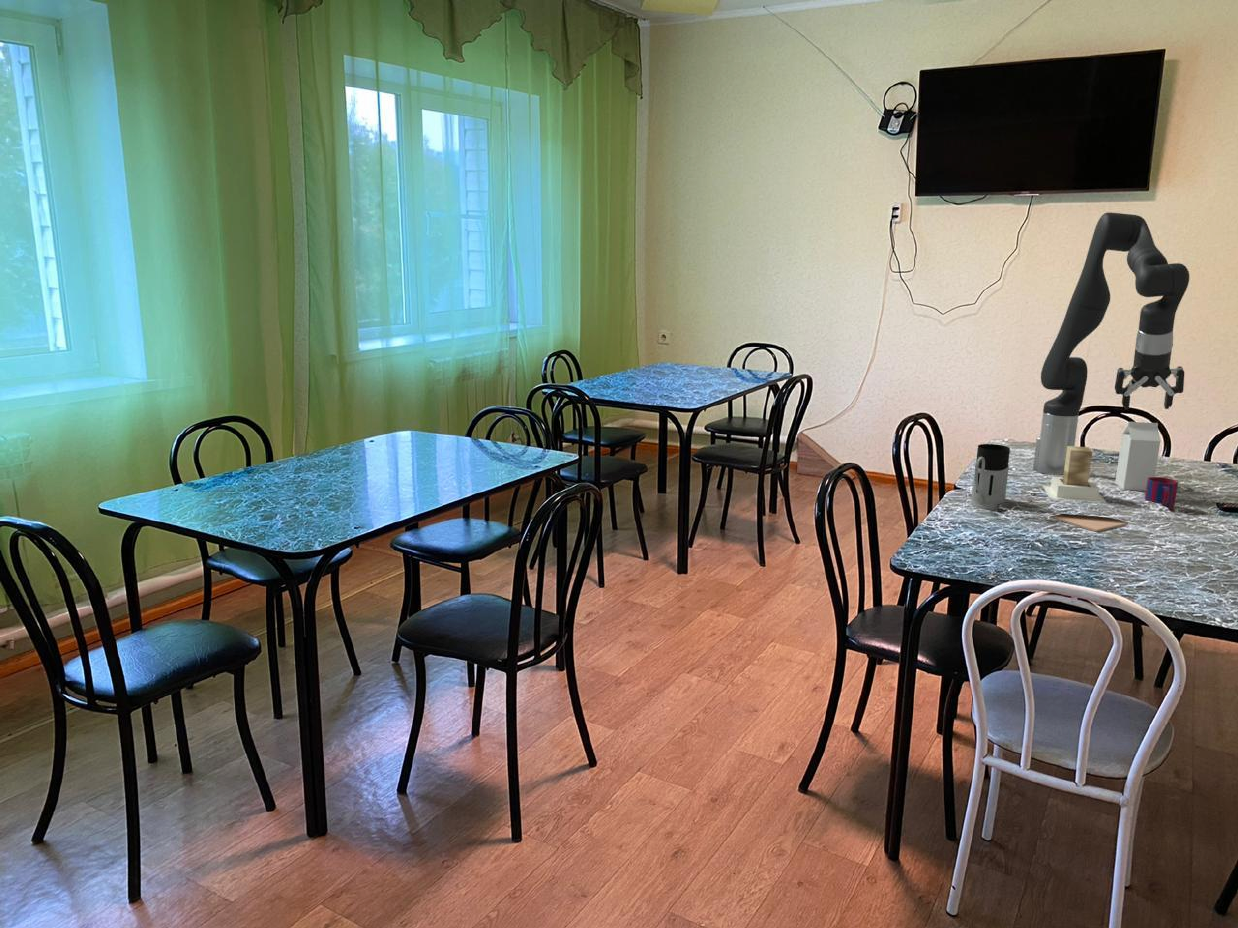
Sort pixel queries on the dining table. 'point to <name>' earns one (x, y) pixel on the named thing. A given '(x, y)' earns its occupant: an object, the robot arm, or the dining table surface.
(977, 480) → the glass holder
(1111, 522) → the terracotta mat
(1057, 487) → the socket stand
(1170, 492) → the mug
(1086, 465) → the oak bar
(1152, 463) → the milk carton
